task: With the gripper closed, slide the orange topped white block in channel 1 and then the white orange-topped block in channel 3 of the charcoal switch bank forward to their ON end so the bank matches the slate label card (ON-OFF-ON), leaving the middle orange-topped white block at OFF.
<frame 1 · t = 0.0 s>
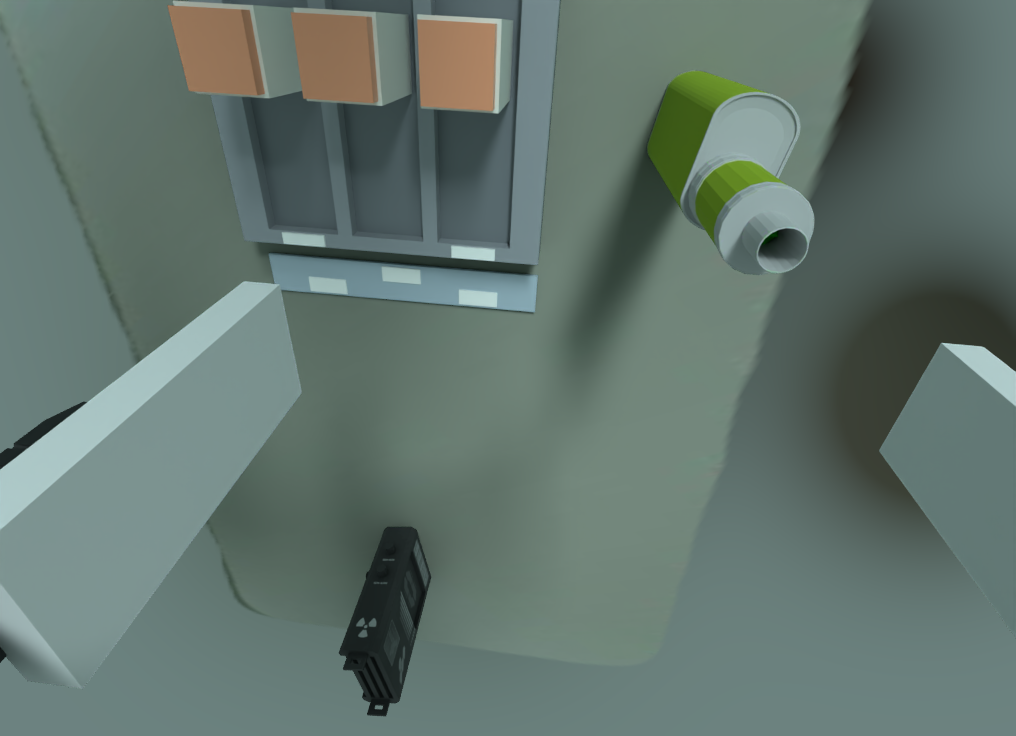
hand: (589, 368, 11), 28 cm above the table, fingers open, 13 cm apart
orange topped white block 1: (249, 49, 29), point 6 cm above the table, slide at 0.0 cm
vape: (684, 124, 34), on the table
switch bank: (392, 122, 35), on the table
orange-topped white block 2: (357, 56, 28), point 6 cm above the table, slide at 0.0 cm
white orange-topped block 3: (468, 62, 28), point 6 cm above the table, slide at 0.0 cm
label card: (403, 281, 41), on the table
geiger counter: (404, 551, 60), on the table
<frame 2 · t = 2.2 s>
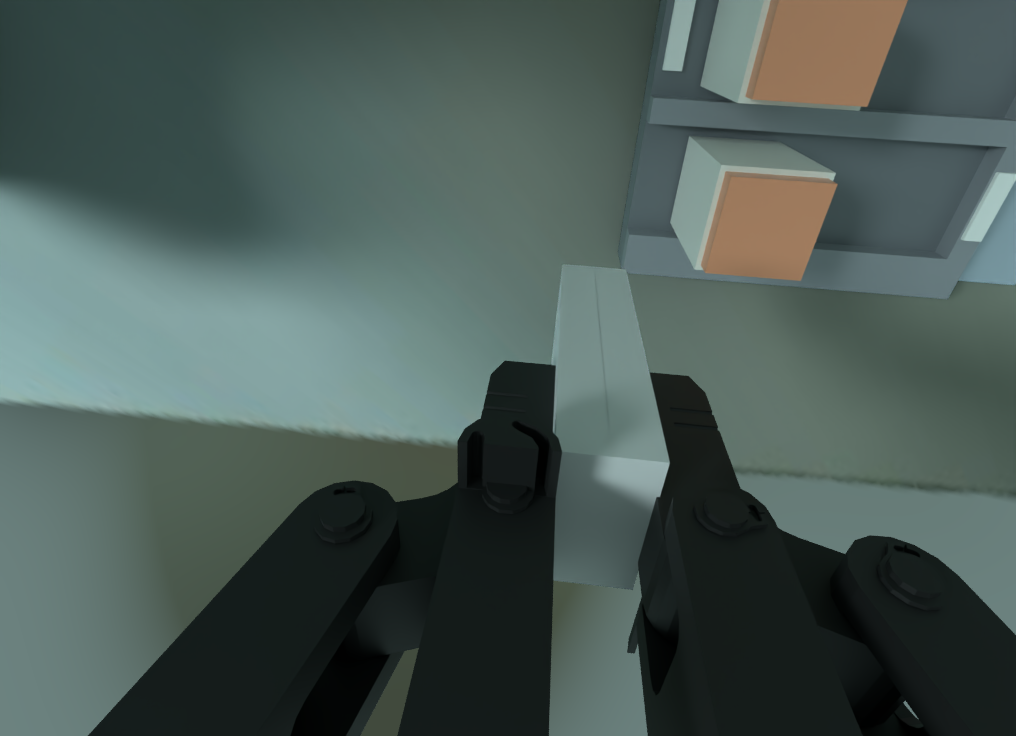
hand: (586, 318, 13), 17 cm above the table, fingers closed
orange topped white block 1: (741, 204, 22), point 6 cm above the table, slide at 0.0 cm
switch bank: (838, 38, 23), on the table
orange-topped white block 2: (791, 35, 19), point 6 cm above the table, slide at 0.0 cm
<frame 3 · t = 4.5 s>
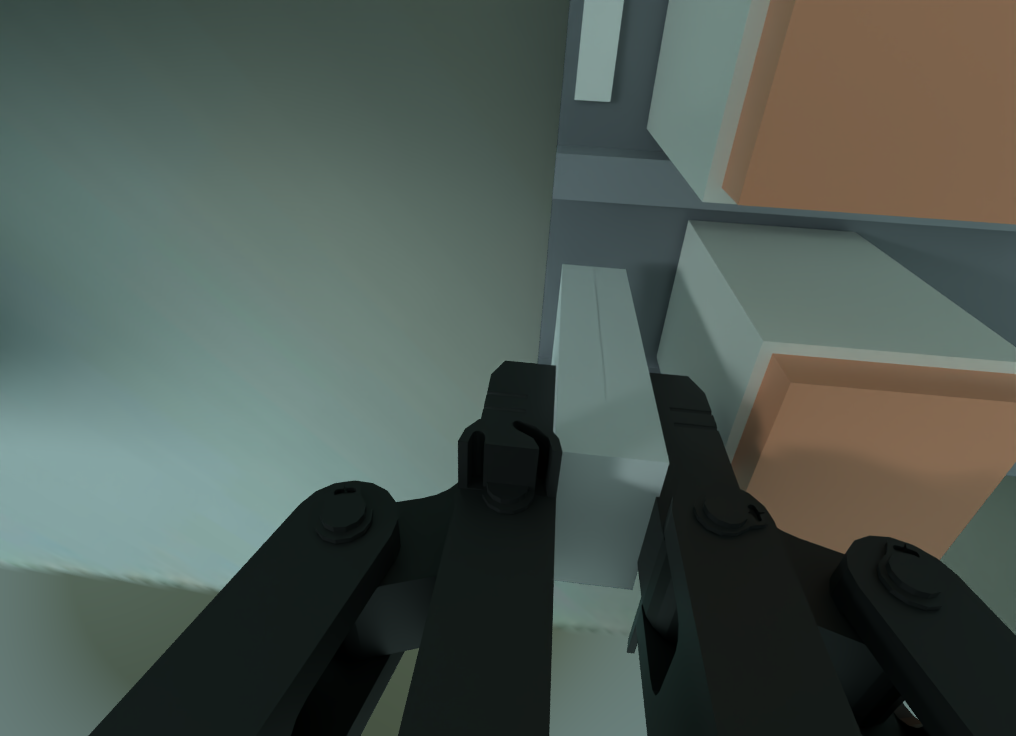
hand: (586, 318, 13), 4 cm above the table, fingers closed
orange topped white block 1: (792, 369, 11), point 6 cm above the table, slide at 1.4 cm, touching gripper
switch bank: (907, 37, 12), on the table
orange-topped white block 2: (832, 30, 8), point 6 cm above the table, slide at 0.0 cm
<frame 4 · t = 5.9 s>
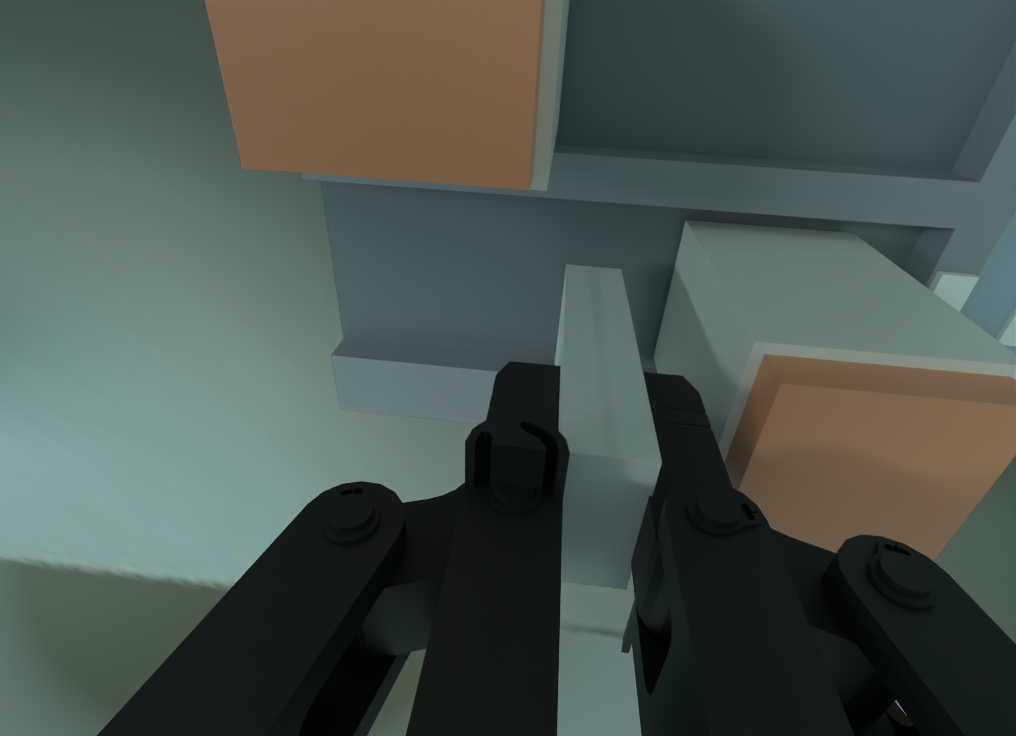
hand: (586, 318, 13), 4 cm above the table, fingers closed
orange topped white block 1: (787, 370, 11), point 6 cm above the table, slide at 7.3 cm, touching gripper
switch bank: (651, 24, 13), on the table
orange-topped white block 2: (438, 9, 8), point 6 cm above the table, slide at 0.0 cm
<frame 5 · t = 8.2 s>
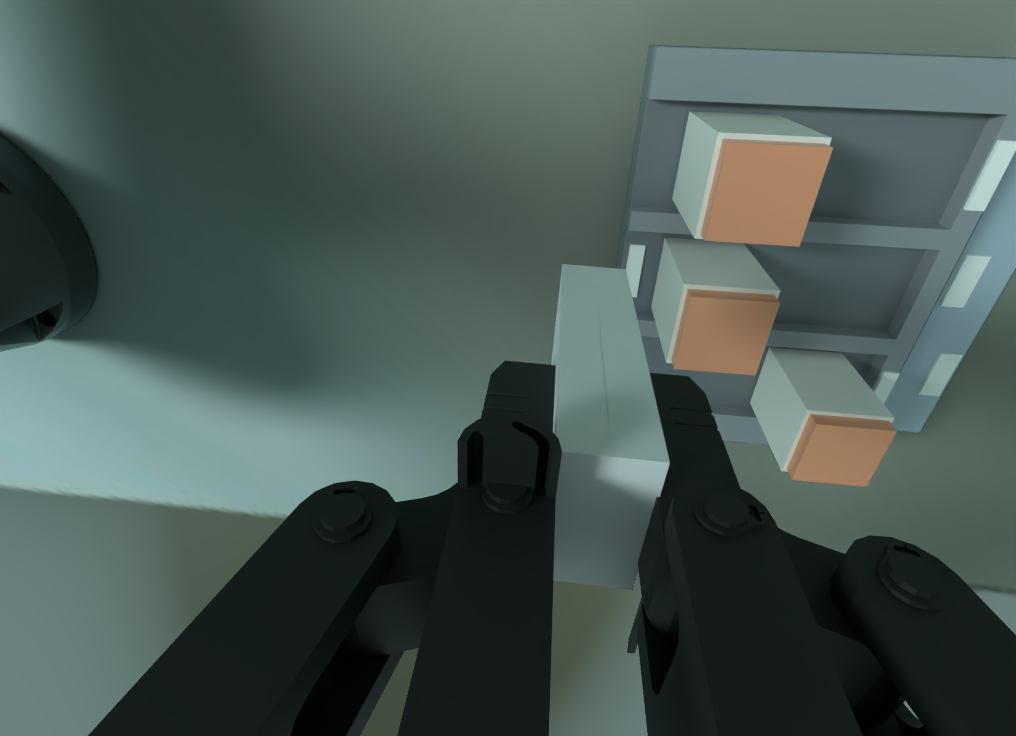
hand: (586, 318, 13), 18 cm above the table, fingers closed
orange topped white block 1: (815, 413, 28), point 6 cm above the table, slide at 7.0 cm
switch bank: (759, 265, 30), on the table
orange-topped white block 2: (708, 303, 26), point 6 cm above the table, slide at 0.0 cm
white orange-topped block 3: (741, 175, 22), point 6 cm above the table, slide at 0.0 cm
label card: (973, 280, 29), on the table
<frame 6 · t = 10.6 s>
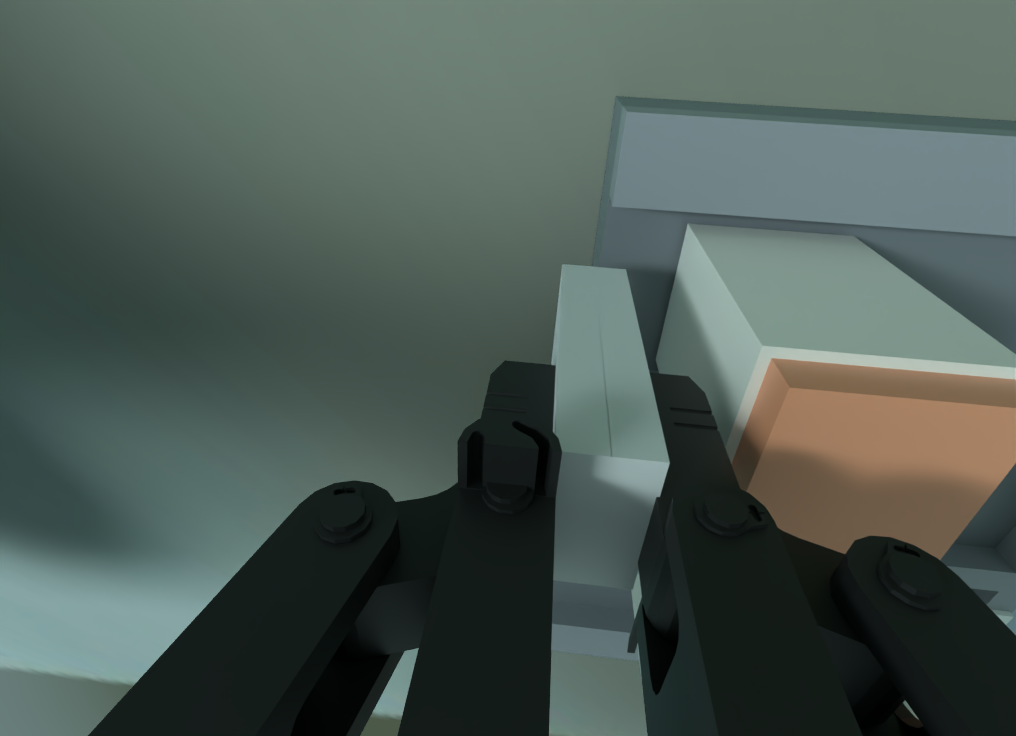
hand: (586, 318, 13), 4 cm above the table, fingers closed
orange topped white block 1: (885, 693, 17), point 6 cm above the table, slide at 7.0 cm
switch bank: (792, 436, 19), on the table
orange-topped white block 2: (716, 553, 14), point 6 cm above the table, slide at 0.0 cm
white orange-topped block 3: (791, 372, 11), point 6 cm above the table, slide at 0.0 cm, touching gripper
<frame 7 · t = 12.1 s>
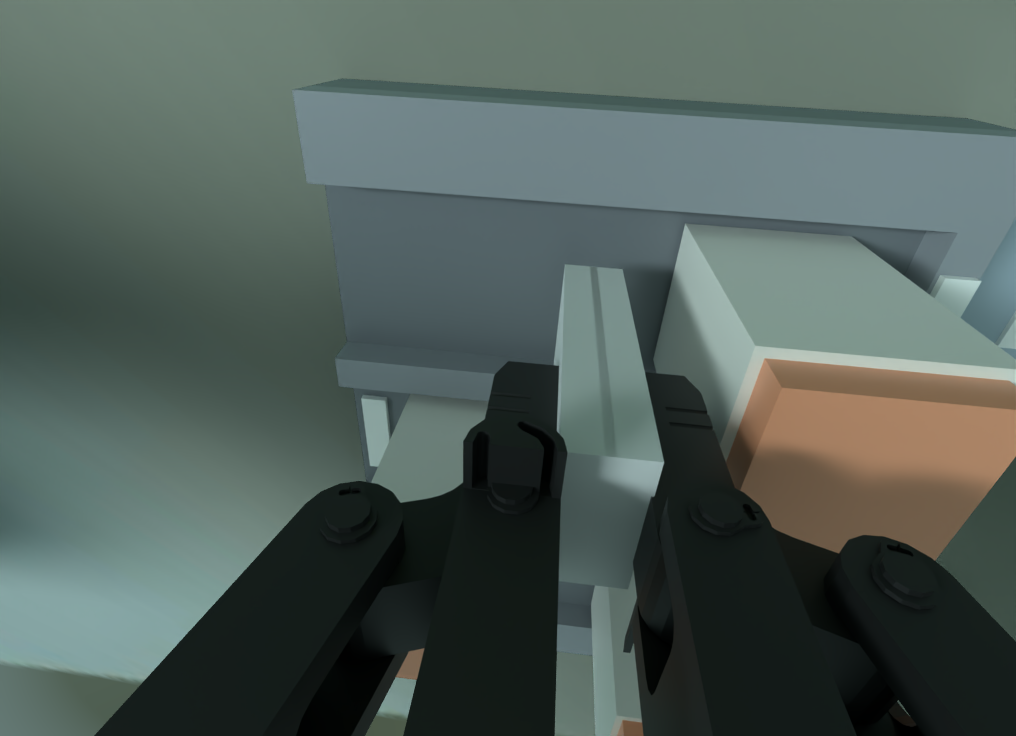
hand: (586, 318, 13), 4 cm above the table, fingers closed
orange topped white block 1: (661, 667, 18), point 6 cm above the table, slide at 7.0 cm
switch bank: (589, 416, 19), on the table
orange-topped white block 2: (453, 524, 15), point 6 cm above the table, slide at 0.0 cm
white orange-topped block 3: (787, 373, 11), point 6 cm above the table, slide at 7.2 cm, touching gripper
label card: (915, 449, 19), on the table
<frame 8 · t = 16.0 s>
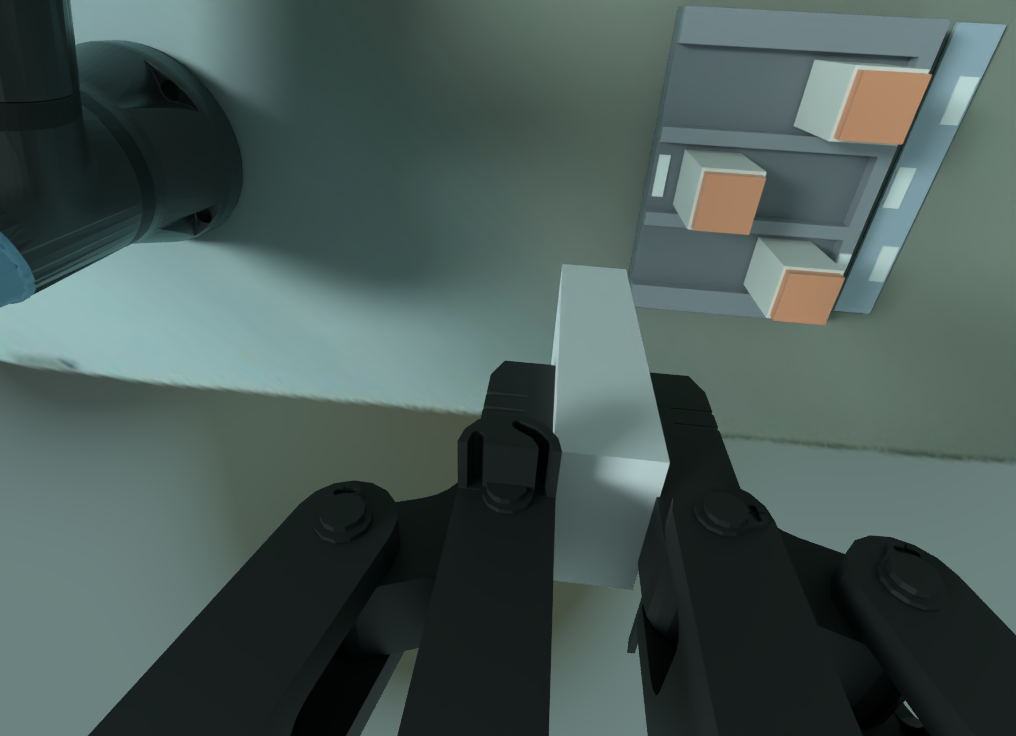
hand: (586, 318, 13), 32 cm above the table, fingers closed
orange topped white block 1: (790, 280, 39), point 6 cm above the table, slide at 7.0 cm
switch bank: (752, 176, 41), on the table
orange-topped white block 2: (716, 191, 36), point 6 cm above the table, slide at 0.0 cm
white orange-topped block 3: (856, 101, 33), point 6 cm above the table, slide at 7.0 cm
label card: (905, 187, 40), on the table
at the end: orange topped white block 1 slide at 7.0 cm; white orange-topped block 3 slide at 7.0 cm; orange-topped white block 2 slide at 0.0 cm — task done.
